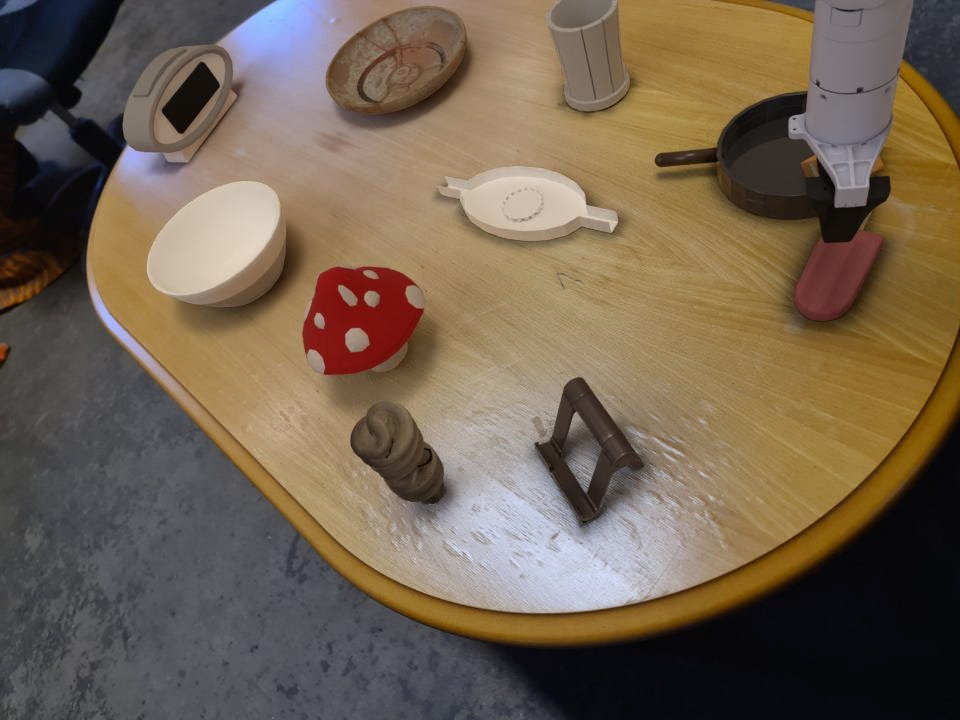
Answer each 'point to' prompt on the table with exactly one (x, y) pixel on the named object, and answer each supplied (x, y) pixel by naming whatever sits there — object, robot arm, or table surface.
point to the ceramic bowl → (397, 60)
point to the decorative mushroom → (360, 319)
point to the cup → (589, 52)
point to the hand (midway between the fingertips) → (834, 205)
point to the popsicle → (836, 275)
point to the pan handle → (687, 157)
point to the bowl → (221, 247)
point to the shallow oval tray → (527, 204)
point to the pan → (766, 160)
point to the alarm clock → (179, 101)
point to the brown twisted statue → (399, 453)
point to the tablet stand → (606, 434)
